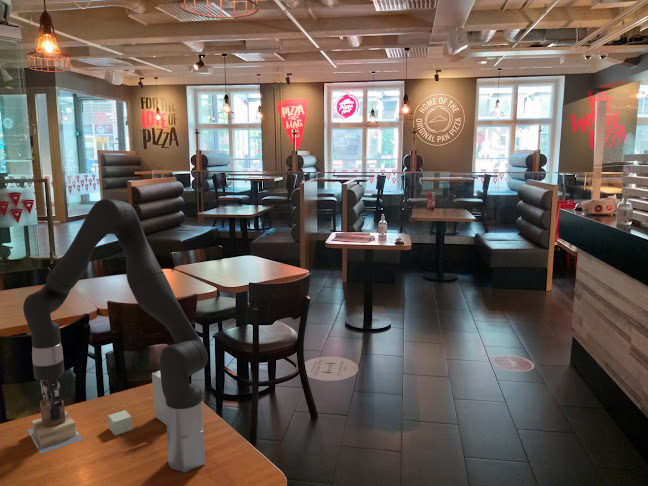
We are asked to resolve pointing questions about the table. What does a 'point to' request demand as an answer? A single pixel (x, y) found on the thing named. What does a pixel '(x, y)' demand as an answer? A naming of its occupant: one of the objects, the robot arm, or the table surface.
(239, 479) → the table surface
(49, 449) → the plate
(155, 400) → the skincare box
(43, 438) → the pedestal
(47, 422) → the block
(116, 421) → the block
